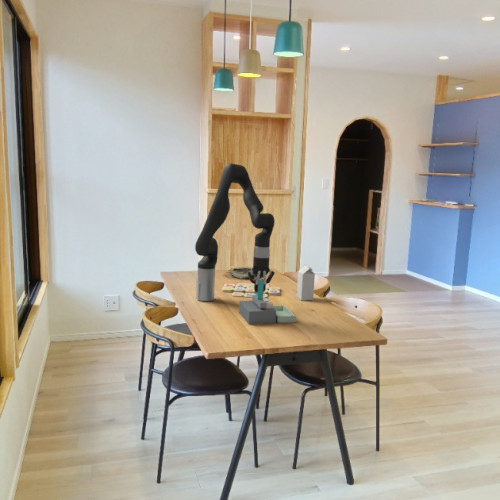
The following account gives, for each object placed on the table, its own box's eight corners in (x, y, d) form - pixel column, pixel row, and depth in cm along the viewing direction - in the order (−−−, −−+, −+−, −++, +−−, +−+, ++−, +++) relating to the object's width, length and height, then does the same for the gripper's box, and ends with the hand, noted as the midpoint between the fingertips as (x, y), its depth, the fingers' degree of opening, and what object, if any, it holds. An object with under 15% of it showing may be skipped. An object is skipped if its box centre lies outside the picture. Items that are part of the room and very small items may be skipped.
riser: (248, 324, 225) (249, 311, 224) (239, 312, 242) (239, 300, 241) (275, 323, 228) (276, 310, 227) (264, 311, 245) (264, 300, 244)
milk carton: (301, 300, 269) (303, 266, 266) (296, 297, 276) (298, 264, 273) (313, 300, 271) (315, 266, 268) (308, 297, 278) (310, 264, 274)
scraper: (260, 308, 227) (261, 284, 225) (252, 300, 240) (253, 277, 238) (266, 308, 228) (267, 283, 226) (258, 299, 241) (259, 277, 239)
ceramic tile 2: (261, 304, 236) (261, 300, 235) (259, 302, 239) (259, 298, 239) (269, 304, 237) (269, 300, 236) (266, 302, 240) (267, 298, 240)
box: (277, 322, 228) (278, 316, 228) (266, 311, 246) (266, 305, 245) (295, 322, 231) (296, 316, 230) (283, 311, 248) (283, 305, 248)
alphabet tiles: (280, 286, 301) (281, 283, 301) (278, 300, 269) (279, 296, 269) (227, 283, 304) (227, 279, 304) (218, 296, 272) (218, 292, 272)
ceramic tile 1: (264, 308, 230) (265, 304, 229) (262, 306, 234) (262, 302, 233) (273, 308, 231) (273, 304, 231) (270, 305, 235) (270, 301, 234)
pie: (273, 278, 324) (273, 270, 323) (243, 284, 305) (244, 276, 304) (244, 270, 344) (244, 263, 343) (214, 275, 325) (214, 268, 324)
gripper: (273, 254, 236) (271, 289, 238) (245, 254, 232) (243, 290, 235) (278, 257, 228) (276, 293, 231) (249, 257, 225) (247, 294, 228)
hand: (259, 291), depth 233 cm, fingers closed on scraper, 2 cm apart
